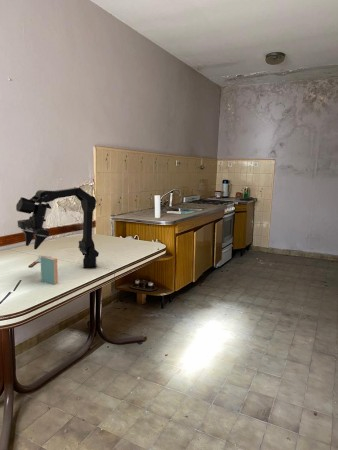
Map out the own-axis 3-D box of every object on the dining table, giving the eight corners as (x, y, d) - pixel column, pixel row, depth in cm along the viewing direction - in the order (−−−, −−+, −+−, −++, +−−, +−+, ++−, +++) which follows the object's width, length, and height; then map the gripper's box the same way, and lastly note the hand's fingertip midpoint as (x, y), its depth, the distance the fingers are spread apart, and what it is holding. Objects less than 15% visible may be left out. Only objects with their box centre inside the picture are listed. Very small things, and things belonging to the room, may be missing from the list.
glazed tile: (45, 280, 158) (44, 256, 156) (57, 282, 155) (57, 258, 153) (41, 281, 156) (40, 257, 154) (53, 284, 153) (53, 259, 151)
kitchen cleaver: (42, 266, 178) (24, 265, 177) (42, 268, 178) (24, 267, 177) (56, 256, 202) (39, 255, 201) (56, 257, 202) (39, 256, 201)
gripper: (14, 210, 157) (6, 241, 157) (30, 214, 145) (22, 248, 144) (36, 215, 166) (29, 244, 165) (53, 219, 153) (45, 251, 152)
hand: (31, 247), depth 156 cm, fingers open, 9 cm apart
